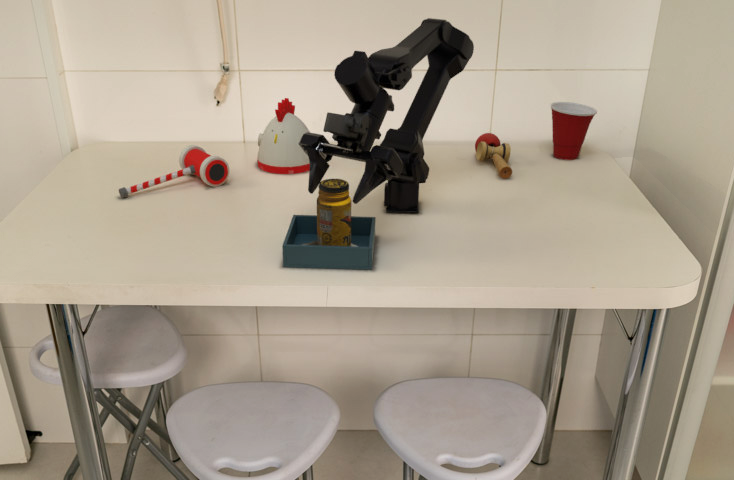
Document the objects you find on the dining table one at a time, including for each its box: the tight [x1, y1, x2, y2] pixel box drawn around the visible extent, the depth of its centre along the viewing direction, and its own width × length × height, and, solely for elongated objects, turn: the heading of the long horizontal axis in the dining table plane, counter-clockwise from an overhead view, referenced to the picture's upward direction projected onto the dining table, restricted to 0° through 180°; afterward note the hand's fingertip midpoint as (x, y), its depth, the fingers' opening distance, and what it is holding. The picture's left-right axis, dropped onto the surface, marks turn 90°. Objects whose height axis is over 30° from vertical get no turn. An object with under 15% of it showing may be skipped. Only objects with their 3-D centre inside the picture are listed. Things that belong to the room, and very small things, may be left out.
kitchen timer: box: [257, 97, 311, 175], centre depth 178 cm, size 14×14×15 cm
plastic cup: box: [550, 101, 598, 161], centre depth 185 cm, size 11×11×12 cm
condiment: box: [302, 178, 358, 247], centre depth 136 cm, size 7×8×12 cm
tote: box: [282, 214, 377, 271], centre depth 138 cm, size 15×14×4 cm
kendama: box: [474, 132, 513, 180], centre depth 180 cm, size 8×6×18 cm
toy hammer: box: [118, 144, 230, 199], centre depth 167 cm, size 23×12×6 cm, turn 127°
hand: (331, 197), depth 135 cm, fingers open, 9 cm apart
